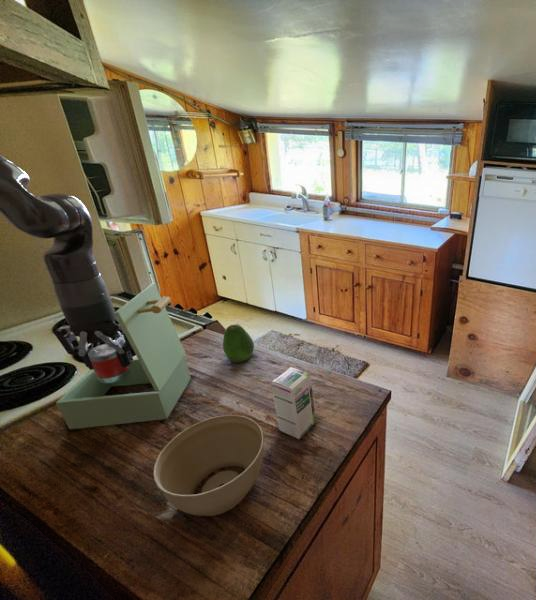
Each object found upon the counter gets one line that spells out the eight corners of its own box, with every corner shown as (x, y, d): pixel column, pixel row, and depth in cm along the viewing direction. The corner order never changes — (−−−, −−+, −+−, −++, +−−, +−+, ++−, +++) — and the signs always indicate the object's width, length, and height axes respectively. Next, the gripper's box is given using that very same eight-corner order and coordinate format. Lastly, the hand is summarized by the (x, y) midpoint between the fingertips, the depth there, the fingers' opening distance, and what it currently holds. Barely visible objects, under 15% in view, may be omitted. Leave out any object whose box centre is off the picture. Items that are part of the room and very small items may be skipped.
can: (92, 384, 70) (80, 357, 68) (108, 368, 75) (97, 343, 73) (122, 382, 72) (112, 355, 69) (135, 367, 77) (126, 341, 74)
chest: (71, 432, 69) (55, 402, 66) (111, 387, 82) (99, 361, 79) (168, 422, 73) (158, 393, 70) (191, 380, 86) (184, 354, 83)
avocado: (220, 364, 93) (212, 327, 88) (242, 350, 100) (235, 315, 95) (241, 371, 90) (233, 334, 85) (262, 357, 97) (256, 322, 92)
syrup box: (299, 442, 70) (293, 389, 63) (278, 433, 72) (270, 380, 66) (316, 424, 74) (311, 373, 68) (296, 415, 76) (290, 365, 70)
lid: (113, 312, 61) (143, 308, 62) (150, 283, 74) (175, 280, 75) (155, 392, 69) (181, 387, 70) (182, 353, 82) (204, 350, 83)
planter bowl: (203, 562, 49) (187, 518, 44) (153, 503, 57) (134, 460, 52) (289, 481, 61) (282, 440, 57) (238, 441, 69) (228, 402, 65)
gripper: (135, 289, 70) (155, 354, 77) (56, 291, 67) (84, 359, 74) (115, 304, 64) (139, 374, 71) (26, 307, 61) (60, 379, 68)
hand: (111, 366), depth 72 cm, fingers closed on can, 5 cm apart
